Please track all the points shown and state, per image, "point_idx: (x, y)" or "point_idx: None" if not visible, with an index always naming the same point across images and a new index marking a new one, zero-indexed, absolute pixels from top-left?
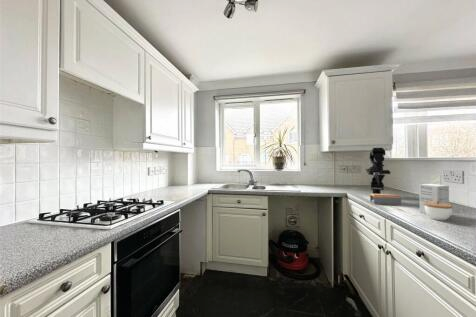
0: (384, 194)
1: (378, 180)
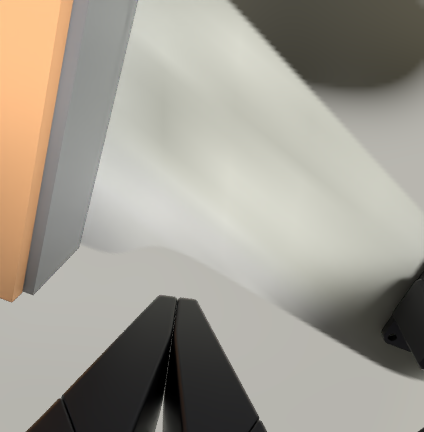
0: (6, 145)
1: (90, 368)
